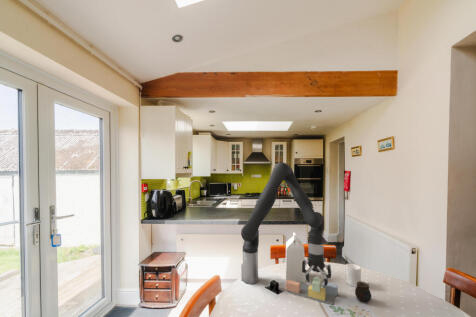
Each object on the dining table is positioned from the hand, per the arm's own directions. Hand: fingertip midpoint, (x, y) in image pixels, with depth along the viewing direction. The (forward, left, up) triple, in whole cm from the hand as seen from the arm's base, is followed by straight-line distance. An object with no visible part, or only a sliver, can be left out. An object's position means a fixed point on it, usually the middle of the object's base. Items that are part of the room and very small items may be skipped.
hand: (316, 283), depth 114 cm
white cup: (+16, +24, -7) cm, 30 cm away
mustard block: (0, 0, -7) cm, 7 cm away
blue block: (+6, +8, -7) cm, 11 cm away
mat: (-3, +4, -7) cm, 8 cm away
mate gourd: (+21, +9, -7) cm, 24 cm away
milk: (-16, +17, -7) cm, 24 cm away
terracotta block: (-12, 0, -7) cm, 14 cm away
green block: (0, +1, -3) cm, 3 cm away
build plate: (-22, -3, -8) cm, 24 cm away
